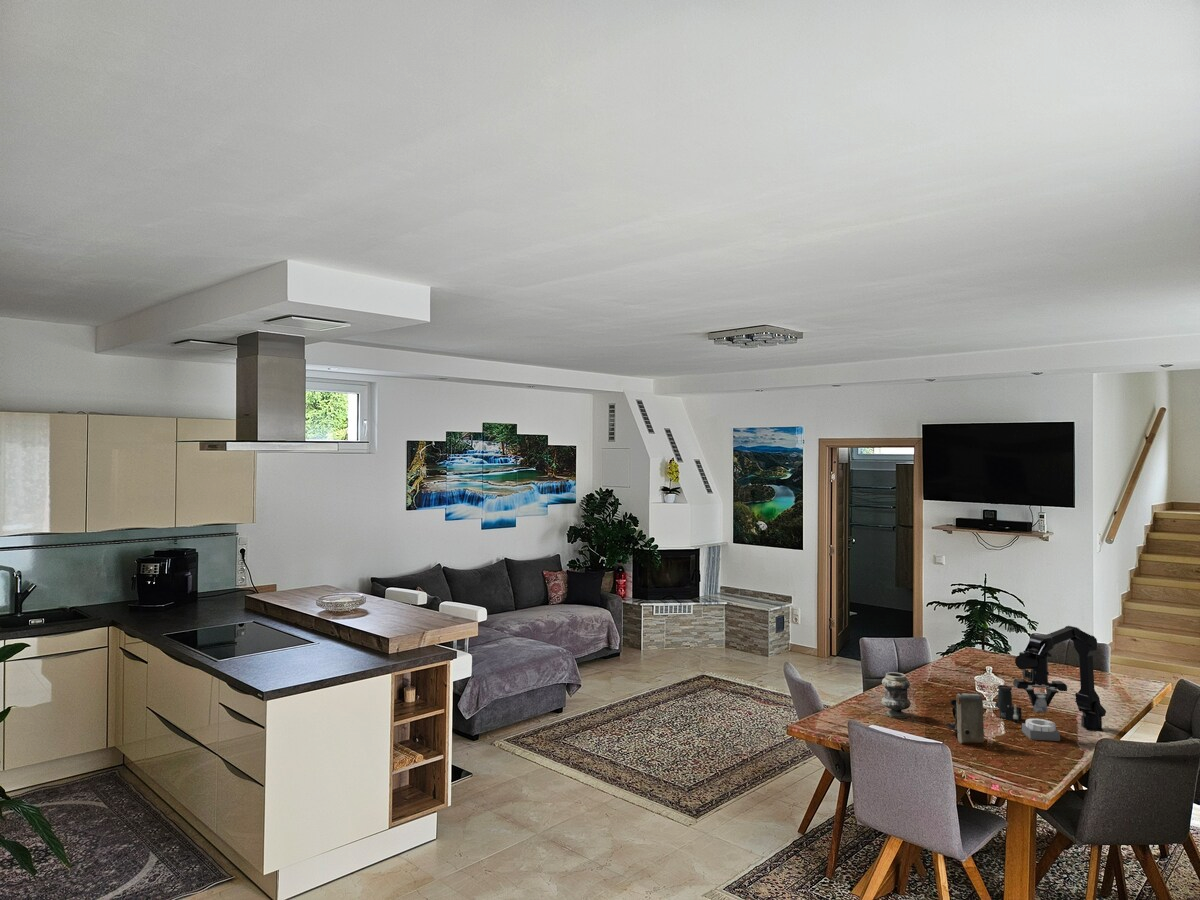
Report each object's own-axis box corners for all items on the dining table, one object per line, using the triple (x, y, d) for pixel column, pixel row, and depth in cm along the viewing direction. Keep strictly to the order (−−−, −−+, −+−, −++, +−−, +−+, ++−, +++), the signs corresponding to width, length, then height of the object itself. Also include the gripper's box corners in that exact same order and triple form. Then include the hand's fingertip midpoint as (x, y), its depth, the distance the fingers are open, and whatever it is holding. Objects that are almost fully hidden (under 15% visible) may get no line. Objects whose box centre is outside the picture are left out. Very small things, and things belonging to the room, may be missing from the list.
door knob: (1044, 709, 325) (1044, 692, 325) (1049, 713, 320) (1048, 695, 320) (1031, 708, 326) (1031, 691, 326) (1035, 712, 321) (1035, 695, 321)
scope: (1016, 691, 339) (992, 686, 346) (1017, 723, 338) (992, 718, 345) (1022, 687, 345) (998, 683, 352) (1023, 719, 344) (998, 714, 351)
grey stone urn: (909, 712, 355) (908, 671, 355) (912, 720, 343) (911, 678, 343) (880, 709, 358) (880, 670, 358) (882, 717, 346) (882, 676, 347)
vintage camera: (966, 733, 328) (963, 684, 329) (985, 744, 312) (983, 693, 314) (943, 733, 327) (941, 685, 329) (961, 745, 312) (959, 694, 313)
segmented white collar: (1050, 732, 327) (1050, 719, 327) (1060, 741, 316) (1060, 727, 317) (1021, 731, 329) (1021, 717, 329) (1030, 739, 318) (1030, 725, 319)
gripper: (1057, 664, 330) (1057, 701, 329) (1008, 661, 333) (1009, 699, 333) (1067, 670, 319) (1067, 709, 318) (1017, 668, 322) (1018, 706, 322)
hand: (1040, 706), depth 323 cm, fingers closed on door knob, 5 cm apart
